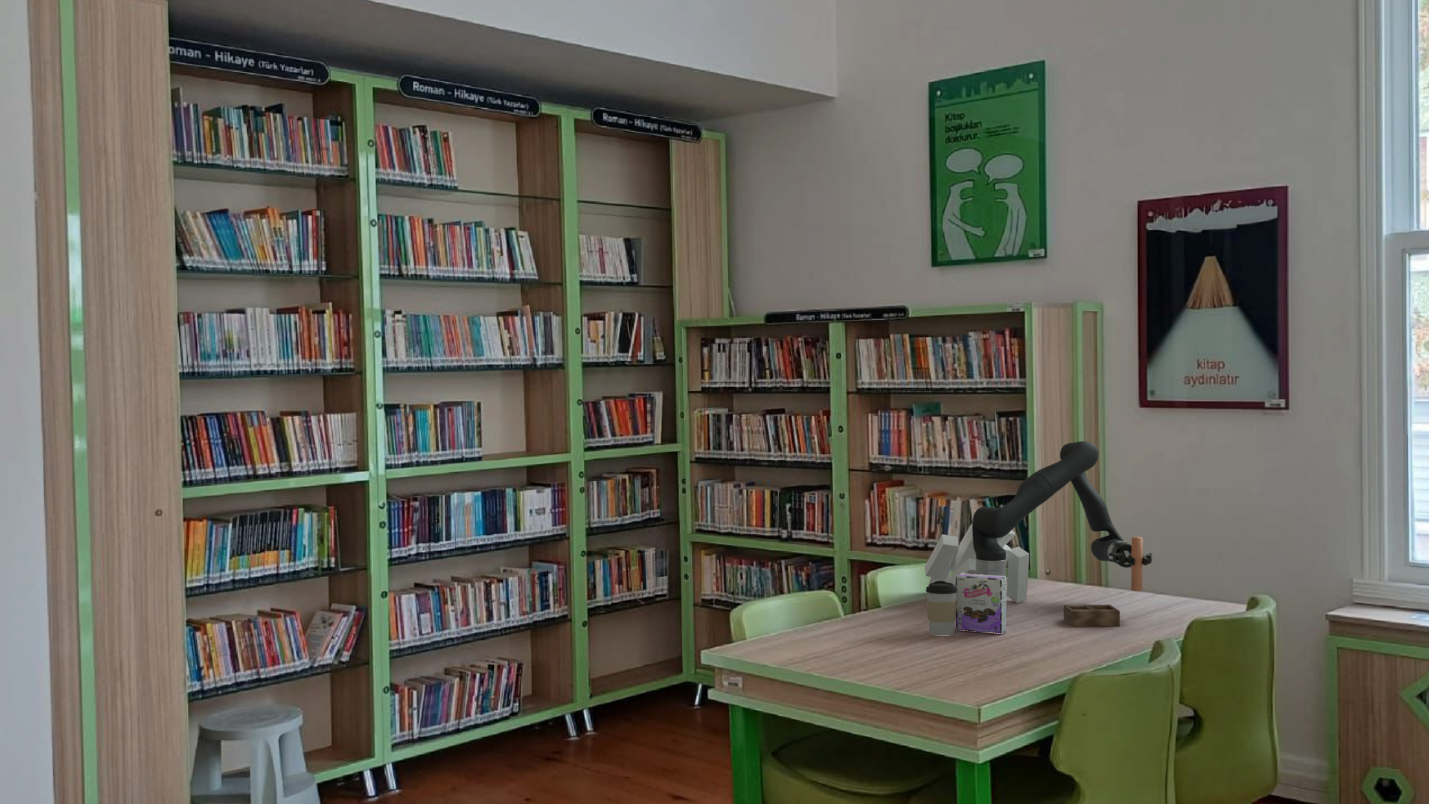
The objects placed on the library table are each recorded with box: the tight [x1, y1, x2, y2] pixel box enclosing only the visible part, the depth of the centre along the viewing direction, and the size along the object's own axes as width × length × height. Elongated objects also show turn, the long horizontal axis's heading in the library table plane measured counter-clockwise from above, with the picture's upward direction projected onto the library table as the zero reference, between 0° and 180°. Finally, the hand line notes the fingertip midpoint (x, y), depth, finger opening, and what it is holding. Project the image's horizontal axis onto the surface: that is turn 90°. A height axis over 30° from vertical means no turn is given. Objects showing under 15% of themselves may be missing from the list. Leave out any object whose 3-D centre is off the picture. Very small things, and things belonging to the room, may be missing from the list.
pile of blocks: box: [924, 523, 1030, 604], centre depth 412 cm, size 35×30×35 cm
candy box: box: [955, 573, 1007, 634], centre depth 366 cm, size 14×6×16 cm, turn 62°
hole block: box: [1063, 604, 1121, 627], centre depth 376 cm, size 14×10×4 cm
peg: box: [1130, 536, 1144, 592], centre depth 380 cm, size 3×3×16 cm
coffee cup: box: [925, 581, 958, 636], centre depth 363 cm, size 9×9×15 cm
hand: (1140, 561), depth 377 cm, fingers closed on peg, 3 cm apart
